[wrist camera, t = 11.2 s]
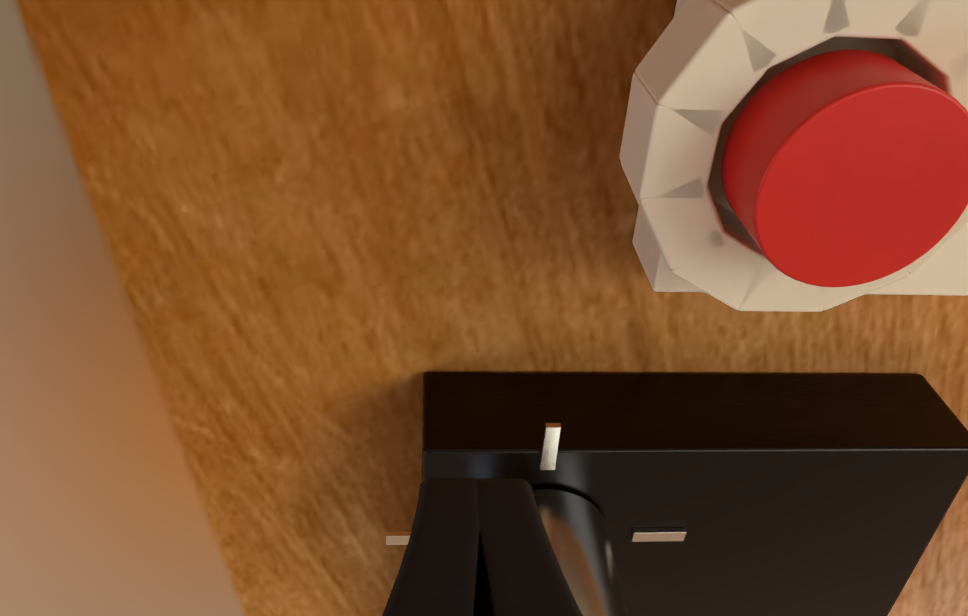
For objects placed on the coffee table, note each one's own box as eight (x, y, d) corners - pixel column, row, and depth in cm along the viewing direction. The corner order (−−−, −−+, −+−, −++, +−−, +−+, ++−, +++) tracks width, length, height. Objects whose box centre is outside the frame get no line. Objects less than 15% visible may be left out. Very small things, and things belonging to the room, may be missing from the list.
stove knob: (595, 578, 21) (628, 738, 18) (464, 579, 21) (472, 742, 18) (616, 487, 19) (659, 646, 16) (472, 487, 19) (482, 650, 16)
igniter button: (701, 237, 15) (731, 287, 13) (748, 43, 13) (788, 78, 11) (883, 240, 15) (930, 290, 14) (957, 52, 13) (1022, 87, 12)
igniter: (580, 242, 19) (612, 341, 16) (634, -138, 14) (696, -110, 11) (1018, 250, 20) (1136, 345, 16) (1198, -104, 15) (1410, -70, 12)
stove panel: (394, 635, 27) (390, 725, 25) (388, 343, 20) (383, 427, 18) (801, 626, 29) (838, 711, 26) (934, 347, 21) (1004, 426, 19)
